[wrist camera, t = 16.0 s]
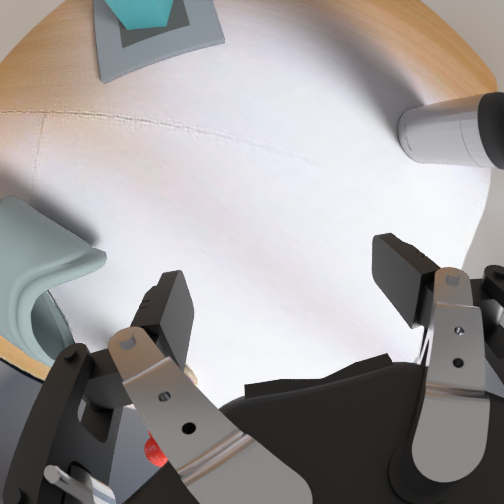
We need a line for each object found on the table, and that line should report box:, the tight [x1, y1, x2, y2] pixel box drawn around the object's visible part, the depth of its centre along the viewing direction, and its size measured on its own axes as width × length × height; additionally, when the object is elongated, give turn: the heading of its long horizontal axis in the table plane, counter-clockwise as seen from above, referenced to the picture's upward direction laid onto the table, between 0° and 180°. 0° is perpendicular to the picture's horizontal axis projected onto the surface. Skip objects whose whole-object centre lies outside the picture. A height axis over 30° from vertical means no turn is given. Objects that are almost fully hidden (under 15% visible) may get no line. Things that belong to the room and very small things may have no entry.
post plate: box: [93, 0, 225, 84], centre depth 23 cm, size 18×18×10 cm
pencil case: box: [0, 196, 107, 367], centre depth 32 cm, size 22×19×13 cm
